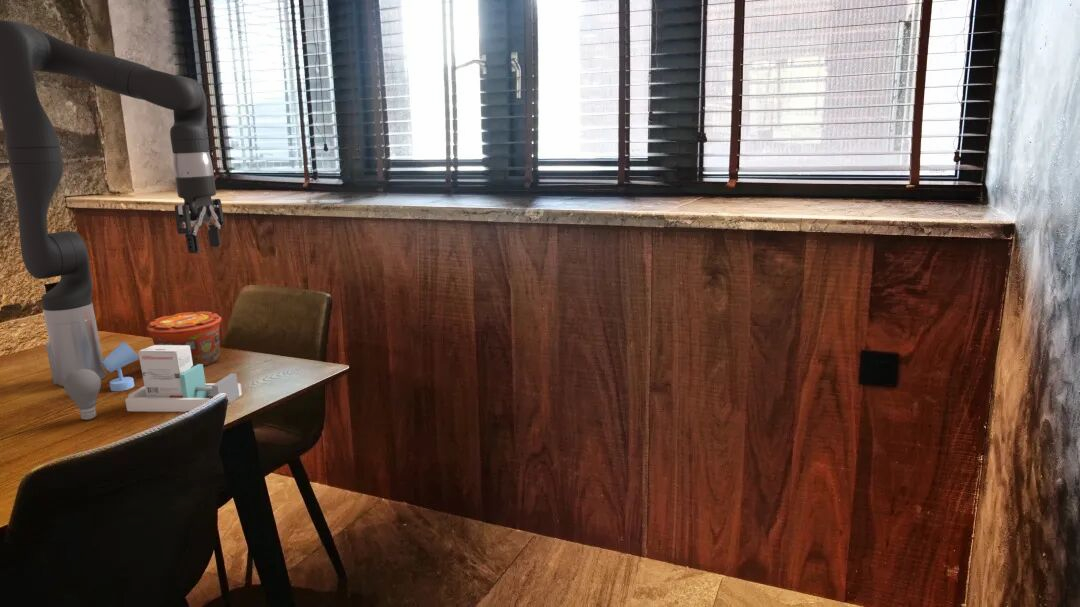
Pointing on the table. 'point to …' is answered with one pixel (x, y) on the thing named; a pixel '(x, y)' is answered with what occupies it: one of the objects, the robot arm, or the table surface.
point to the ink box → (164, 369)
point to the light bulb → (83, 390)
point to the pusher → (194, 383)
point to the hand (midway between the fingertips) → (205, 249)
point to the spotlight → (117, 360)
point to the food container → (190, 334)
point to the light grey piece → (142, 403)
